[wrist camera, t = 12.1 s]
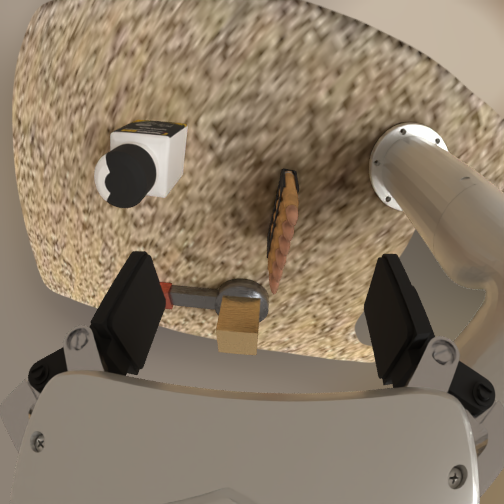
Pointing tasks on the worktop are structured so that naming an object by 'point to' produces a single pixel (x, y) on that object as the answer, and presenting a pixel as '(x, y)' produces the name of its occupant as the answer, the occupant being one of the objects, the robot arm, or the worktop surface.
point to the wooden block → (238, 325)
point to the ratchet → (215, 295)
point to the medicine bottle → (141, 162)
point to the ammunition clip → (282, 226)
